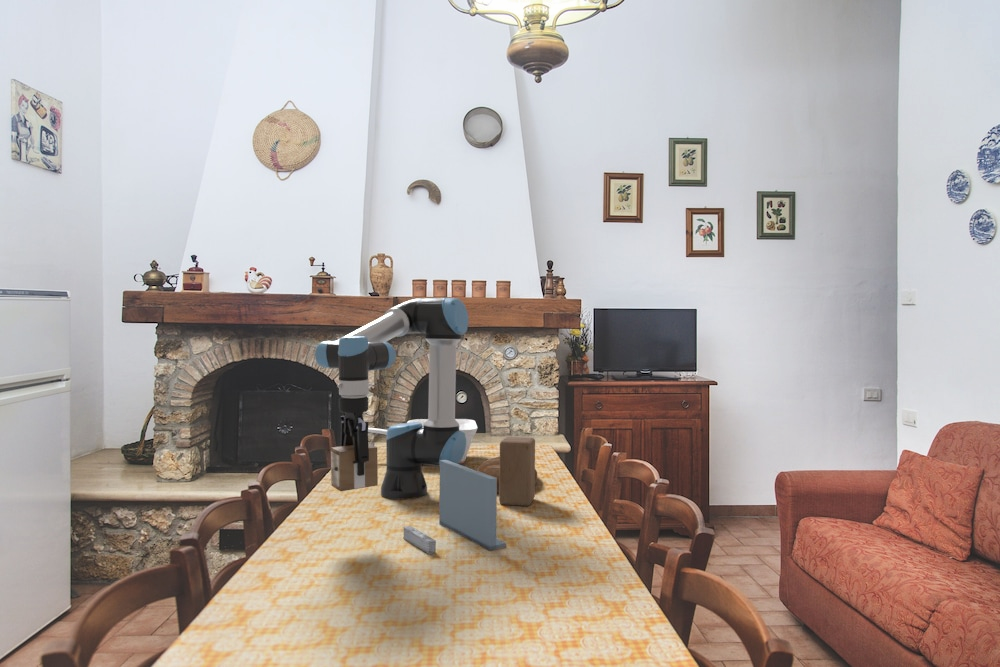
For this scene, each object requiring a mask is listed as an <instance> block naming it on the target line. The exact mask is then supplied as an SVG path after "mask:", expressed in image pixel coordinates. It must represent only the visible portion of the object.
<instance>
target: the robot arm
mask: <svg viewBox="0 0 1000 667" xmlns="http://www.w3.org/2000/svg"><path fill="white" fill-rule="evenodd" d="M469 322H470V321H469V313H468V310H467V308H466V306H465V304H464V303H463V301H462V300H460V299H459V298H453V297H426V298H425V297H417V298H412V299H409V300H407V301H403V302H402V303H400V304H397V305H395V306H392V307H391V308H389V309H387V310H386V311H385V313H384V315H382V316H380V317H379V318H377V319H375V320H373V321H371V322H368V323H367V324H365V325H363V326H361V327H359V328H357V329H355V330H353V331H351V332H349V333H348V334H346V335H344V336H342V337H340V338H339V339H336V340H325V341H320V342H319V343H318V344H317V346H316V347H315V351H314V352H315V353H314V357H315V361H316V363H317V365H318V366H319V367H321V368H325V369H326V368H329V369H338V384H337V385H336V387H337V388H338V394H339V398H338V410H339V412H340V413H344V415H340V417H339V421H340V422H339V423H340V424H339V425H340V430H339V431H340V432H339V447H340V446H349V445H353V446H354V454H355V461H353V464H354V488H355V489H354V490H357V489H356V488H359V489H364V488H363V487H365V462H366V461H369V447H368V444H369V432H368V428H369V426H370V425H369V421H364V416H363V414H364V412H367V411H369V406H370V405H369V397H368V395H369V392H370V389H369V386H370V384H369V372H371V371H377V370H378V371H379V370H382V371H383V370H386V369H389V368H391V367H393V365H394V363H395V362H396V359H397V353H396V350H395V347H394V346H393V345H392V344H391V343H389V342H388V341H390V340H391V339H394V338H395V337H397V338H400V337H403V336H405V335H408V334H409V335H410V334H421V335H422V334H424V335H425V336H424V339H425V341H426V342H427V343H428V344H429V354H428V355H429V356H428V357H429V359H428V362H429V363H428V364H429V365H428V370H429V371H428V406H427V407H428V409H427V410H428V414H427V416H428V418H427V419H428V420H427V421H426V422H425V423H424V425H423V426H422V423H419V422H415V423H407V422H404V423H399V424H394V425H390V426H389V427H388V428H387V429H386V430H387V435H386V438H385V441H386V442H385V443H386V445H385V446H386V448H385V449H386V467H385V468H386V470H385V471H386V472H385V474H384V478H383V481H382V483H381V486H380V495H381V496H382V497H384V498H386V499H393V500H411V499H416V498H422V497H425V496H426V495H427V494H428V485H427V483H426V479H425V475H424V472H423V468H422V467H423V465H427V466H437V467H440V460H448V461H451V462H454V463H457V464H458V463H459V462H460V461H461V459H462V457H463V455H464V452H465V448H466V437H465V433H464V432H462V431H460V430H459V423H458V422H457V421H456V420H455V419H456V384H457V380H456V379H457V376H456V375H457V345H458V344H459V343H460V342H461V340H462V335H465V334H466V333H467V331H468V327H469ZM422 427H423V428H422ZM365 488H366V487H365Z"/></svg>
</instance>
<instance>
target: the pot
mask: <svg viewBox="0 0 1000 667" xmlns="http://www.w3.org/2000/svg"><path fill="white" fill-rule="evenodd" d="M427 420H428V418H427V419H426V418H424V419H423V418H420V419H419V418H417V419H411V420H408V421H407V422H406V423H415V422H419V423H422V426H423V425H424V423H425V422H426V421H427ZM455 420H456V421H457V422H458V423H459V430H460V431H462V432H464V433H465V437H466V448H465V452H464V455H463V457H462V459H461V461H460V462H459V463H458V464H459V465H463V464H464V463H465V461H466V458H467V455H468V452H469V449H470V448H471V444H472V441H473V439H474V436H475V434H476V433H477V430H478V428H479V427H478V425H477V423H476V420H474V419H468V418H455ZM422 428H423V427H422ZM387 430H388V429H385V428H384V429H382V428H373V427H368V433H371V434H372V433H374V434H380V435H381V434H382V435H385V436H387Z"/></svg>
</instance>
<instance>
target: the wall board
mask: <svg viewBox="0 0 1000 667" xmlns="http://www.w3.org/2000/svg"><path fill="white" fill-rule="evenodd" d="M497 495H498V494H497V478H495V477H492V476H490V475H487V474H484V473H481V472H479V471H477V469H476V470H475V469H473V468H470V467H468V466H464V465H463V464H457V463H454V462H451V461H448V460H440V466H439V498H438V499H439V506H438V507H439V508H438V509H439V511H438V512H439V513H438V515H439V518H438V521H439V522H438V523H439V525H440V526H443V527H445V528H446V529H448V530H450V531H452V532H454V533H455V534H458V535H459V536H462V537H464V539H467V540H469V541H471V542H473V543H475V544H477V545H478V546H480V547H482V548H484V549H486V550H487V551H494V550H499V549H503V548H506V547H507V543H506V542H505V541H502V540H501V539H499V538H497V515H498V514H497V510H498V508H497V502H498V501H497V500H498V498H497Z"/></svg>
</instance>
